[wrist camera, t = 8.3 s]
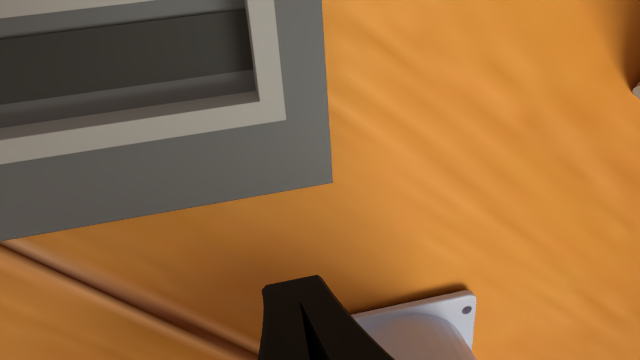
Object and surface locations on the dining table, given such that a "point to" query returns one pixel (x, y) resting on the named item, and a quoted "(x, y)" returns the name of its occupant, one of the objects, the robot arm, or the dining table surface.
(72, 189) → the console board
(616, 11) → the dining table surface
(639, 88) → the grey angular block
